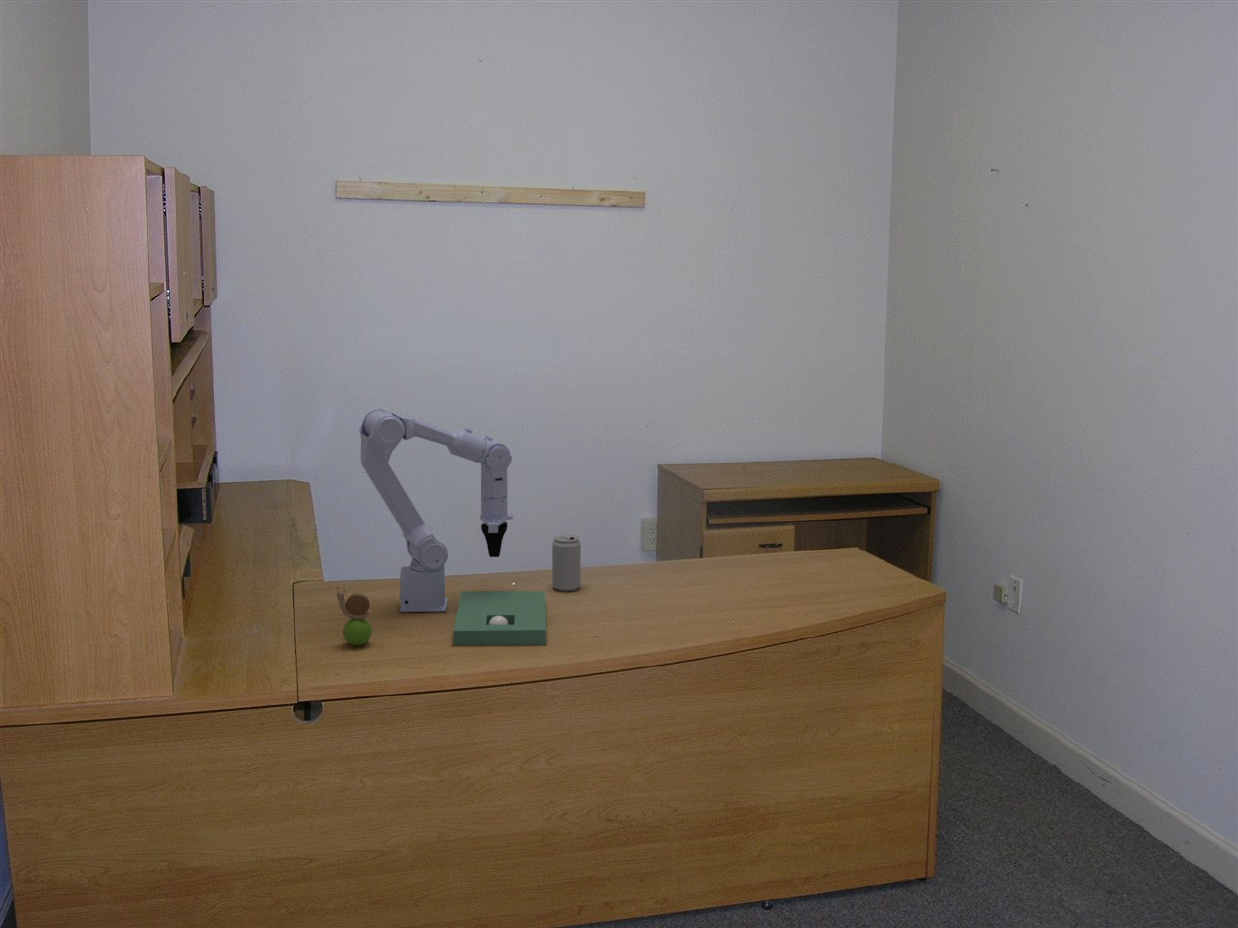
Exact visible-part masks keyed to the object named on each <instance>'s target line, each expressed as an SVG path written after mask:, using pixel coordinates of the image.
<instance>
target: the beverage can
mask: <svg viewBox="0 0 1238 928" xmlns="http://www.w3.org/2000/svg"><path fill="white" fill-rule="evenodd" d="M551 544H552V546H551V549H552V551H551V552H552V555H551V556H552V558H551V559H552V561H551V562H552V564H551V565H552V567H551V568H552V570H551V573H552V574H551V575H552V576H551V577H552V578H551V585H552V587H553V588H554V589H555V590H557V591H559V592H574V591H576V590H577V589H578V588H579V587H580V586H581V559H582V558H581V550H582V549H581V541H580V537H579V536H578V535H575V534H559V535H556V536H554V537H553V541H552V543H551Z"/></svg>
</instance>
